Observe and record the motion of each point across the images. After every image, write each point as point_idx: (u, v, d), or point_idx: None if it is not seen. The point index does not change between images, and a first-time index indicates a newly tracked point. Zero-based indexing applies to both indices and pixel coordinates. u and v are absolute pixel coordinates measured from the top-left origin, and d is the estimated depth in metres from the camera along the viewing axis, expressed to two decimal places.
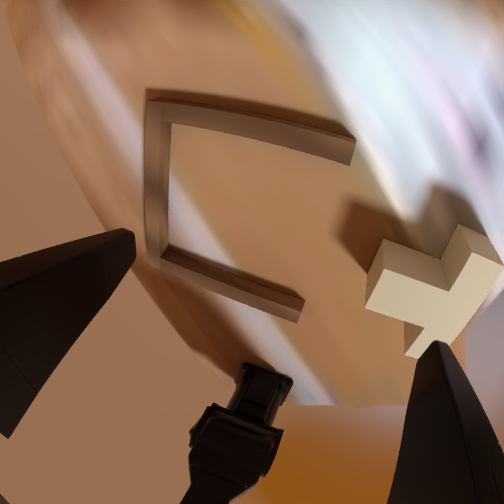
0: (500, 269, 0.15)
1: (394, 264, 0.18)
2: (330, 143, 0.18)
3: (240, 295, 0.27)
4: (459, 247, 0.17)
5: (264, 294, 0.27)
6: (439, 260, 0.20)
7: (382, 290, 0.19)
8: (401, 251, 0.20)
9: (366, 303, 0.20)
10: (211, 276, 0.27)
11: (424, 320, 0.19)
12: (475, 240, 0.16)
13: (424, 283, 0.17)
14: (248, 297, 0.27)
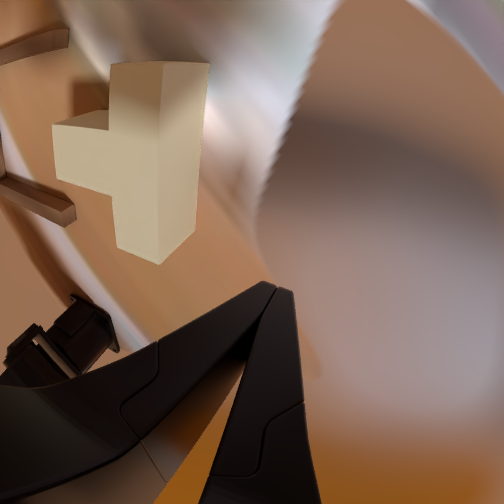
0: (159, 69, 0.10)
1: (70, 120, 0.14)
2: (42, 38, 0.13)
3: (30, 204, 0.23)
4: None
5: (43, 200, 0.22)
6: None
7: (58, 151, 0.14)
8: (102, 113, 0.15)
9: None
10: (18, 190, 0.23)
11: (106, 184, 0.14)
12: None
13: (83, 128, 0.13)
14: (34, 204, 0.22)
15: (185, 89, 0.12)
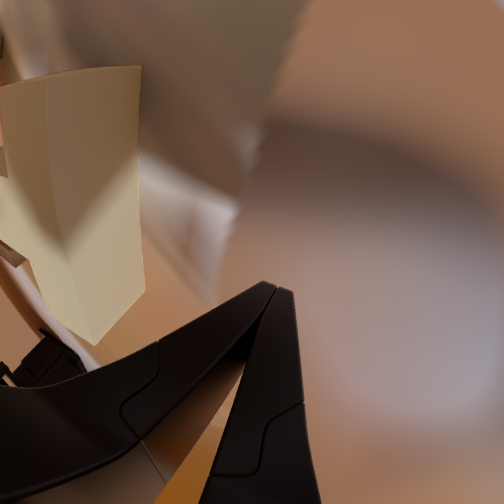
0: (41, 91, 0.05)
1: None
2: None
3: None
4: None
5: None
6: None
7: None
8: None
9: None
10: None
11: (21, 245, 0.09)
12: (65, 72, 0.07)
13: None
14: None
15: (95, 111, 0.07)
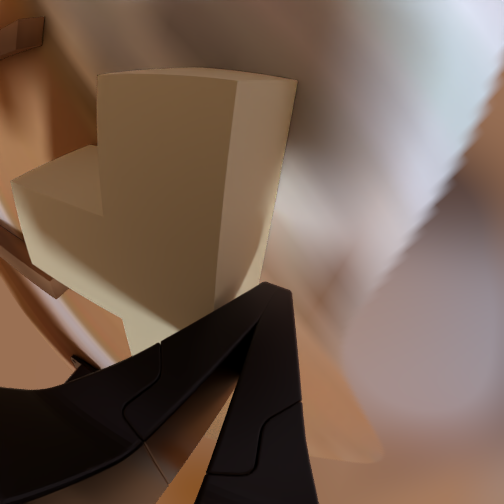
0: (224, 97, 0.04)
1: (40, 174, 0.08)
2: (5, 35, 0.07)
3: (11, 259, 0.17)
4: None
5: (25, 258, 0.16)
6: None
7: (26, 226, 0.08)
8: (94, 156, 0.10)
9: None
10: None
11: (110, 300, 0.08)
12: (196, 69, 0.06)
13: (56, 201, 0.07)
14: (15, 261, 0.16)
15: (265, 137, 0.06)
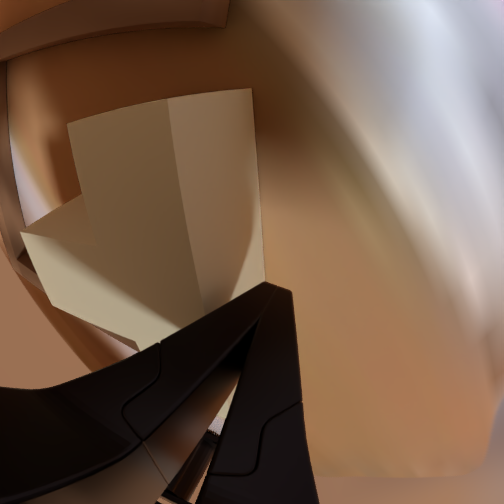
0: (161, 116, 0.05)
1: (45, 221, 0.09)
2: None
3: None
4: None
5: None
6: None
7: (40, 270, 0.10)
8: None
9: None
10: None
11: (122, 325, 0.09)
12: None
13: (59, 241, 0.08)
14: None
15: (222, 146, 0.07)
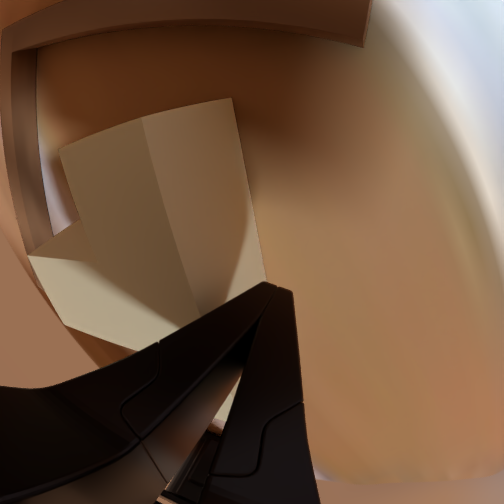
0: (138, 134, 0.05)
1: (51, 244, 0.10)
2: None
3: None
4: None
5: None
6: None
7: (50, 291, 0.10)
8: None
9: (62, 316, 0.11)
10: None
11: (128, 338, 0.09)
12: None
13: (63, 260, 0.08)
14: None
15: (204, 156, 0.07)
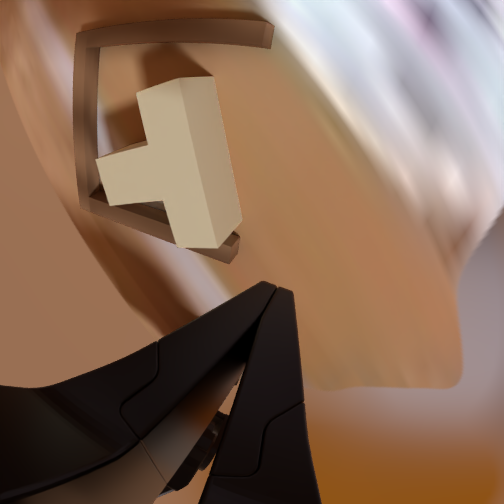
0: (176, 84, 0.14)
1: (111, 153, 0.18)
2: (238, 26, 0.13)
3: (164, 231, 0.22)
4: None
5: None
6: None
7: (106, 180, 0.19)
8: (137, 143, 0.20)
9: None
10: (135, 211, 0.23)
11: (156, 191, 0.18)
12: None
13: (125, 151, 0.17)
14: (172, 232, 0.22)
15: (200, 97, 0.15)
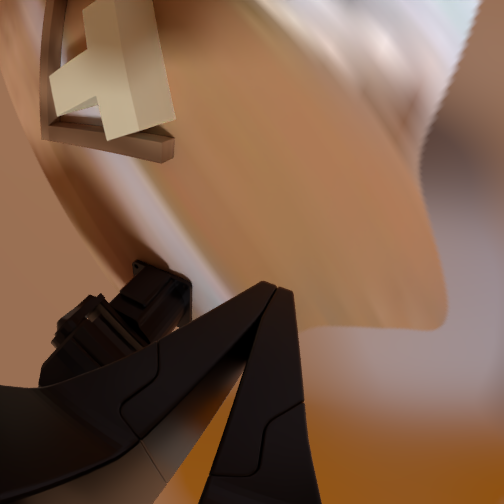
0: None
1: None
2: None
3: (106, 141, 0.20)
4: None
5: (127, 134, 0.20)
6: None
7: (56, 92, 0.16)
8: None
9: (57, 112, 0.18)
10: (84, 129, 0.21)
11: (91, 89, 0.16)
12: None
13: (70, 61, 0.15)
14: (112, 141, 0.20)
15: (134, 7, 0.13)
